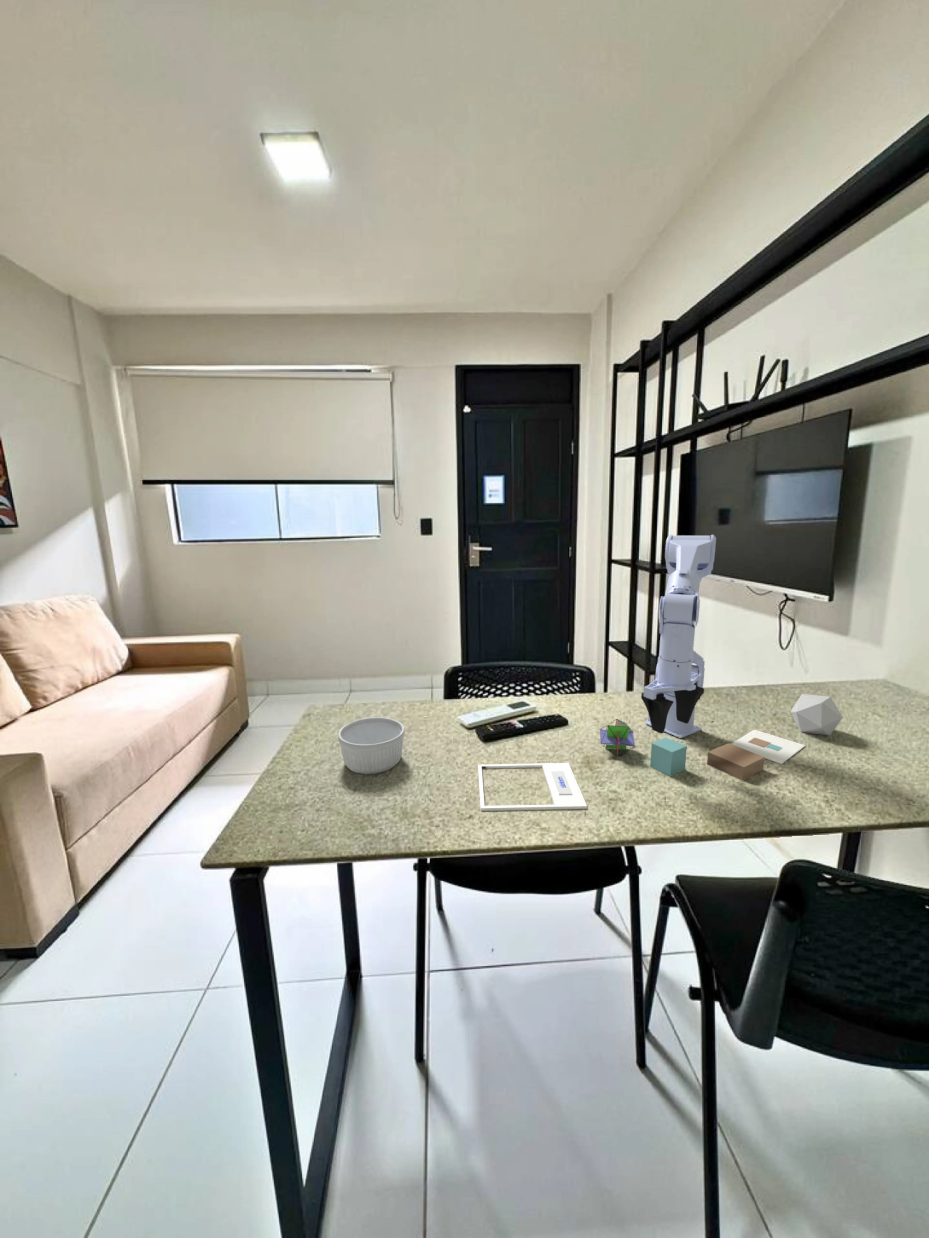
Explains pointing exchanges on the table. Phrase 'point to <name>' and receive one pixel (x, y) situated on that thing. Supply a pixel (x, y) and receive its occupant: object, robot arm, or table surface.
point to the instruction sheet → (768, 746)
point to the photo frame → (558, 782)
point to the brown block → (735, 761)
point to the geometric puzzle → (617, 736)
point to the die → (816, 714)
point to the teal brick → (668, 756)
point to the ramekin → (371, 744)
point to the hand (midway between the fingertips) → (670, 726)
